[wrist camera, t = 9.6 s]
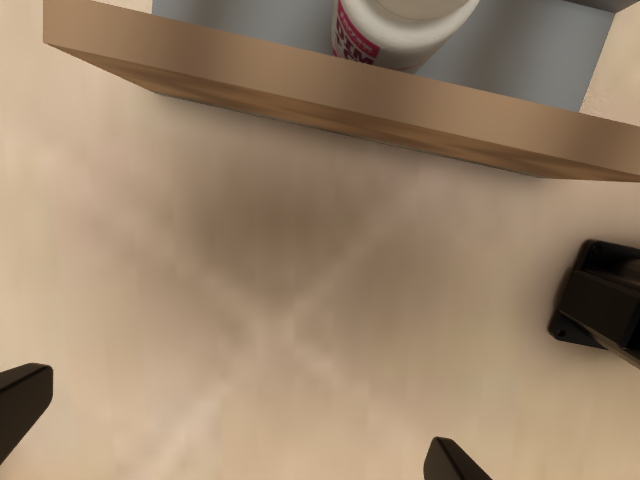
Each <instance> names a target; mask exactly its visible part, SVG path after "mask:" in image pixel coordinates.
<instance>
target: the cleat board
mask: <svg viewBox="0 0 640 480" xmlns="http://www.w3.org/2000/svg"><path fill="white" fill-rule="evenodd" d="M638 1H640V0H480V1H479V3H478V4H477V6H476V8H475V9H474V11H473V12H472V14H471V15H470V16H469V18H468V19H467V20H466V21H465V23H464V24H463V25H462V26H461V27H460V28H459V29H458V30H457V31H456V32H455V33H454V34H453V35H452V36H451V37H450V38H449V39H448V40H447V41H446V42H445V44H444V45H443V46H442V47H441V48H440V49H439V50H438V51H437V52H436V53H435V54H434V55H433V56H432V57H431V58H430V59H429V60H428V61H427V62H426V63H425V64H424V65H423V66H422V67H421V68H420V69H419V70H418V71H417V72H416V73H415V74H414V75H413V74H408V73H404V72H400V71H395V70H391V69H387V68H382V67H378V66H374V65H369V64H365V63H361V62H356V61H352V60H348V59H343V58H339V57H335V56H334V55H333V51H332V45H331V26H332V12H333V0H153V3H152V14H148V13H143V12H139V11H135V10H130V9H126V8H122V7H117V6H113V5H109V4H104V3H100V2H96V1H91V0H43V42H44V43H46V44H48V45H50V46H52V47H55V48H57V49H59V50H61V51H63V52H66V53H68V54H70V55H72V56H75V57H77V58H79V59H81V60H83V61H86V62H88V63H90V64H92V65H94V66H97V67H99V68H101V69H103V70H106V71H108V72H110V73H112V74H114V75H117V76H119V77H121V78H123V79H125V80H128V81H130V82H132V83H134V84H137V85H139V86H141V87H143V88H145V89H148V90H150V91H152V92H154V93H157V94H161V95H166V96H170V97H175V98H179V99H184V100H188V101H193V102H198V103H202V104H207V105H211V106H216V107H220V108H225V109H229V110H234V111H238V112H243V113H248V114H252V115H257V116H261V117H266V118H270V119H275V120H279V121H284V122H289V123H293V124H298V125H302V126H307V127H311V128H316V129H320V130H325V131H329V132H334V133H339V134H343V135H348V136H352V137H357V138H361V139H366V140H370V141H375V142H380V143H384V144H389V145H393V146H398V147H402V148H407V149H411V150H416V151H420V152H425V153H430V154H434V155H439V156H443V157H448V158H452V159H457V160H461V161H466V162H471V163H475V164H480V165H484V166H489V167H493V168H498V169H502V170H507V171H511V172H516V173H521V174H525V175H530V176H534V177H539V178H552V179H575V180H597V181H619V182H640V127H639V126H634V125H630V124H625V123H621V122H617V121H612V120H608V119H604V118H599V117H595V116H591V115H586V114H582V113H579V110H580V107H581V104H582V102H583V99H584V96H585V94H586V91H587V88H588V86H589V83H590V80H591V78H592V75H593V72H594V70H595V67H596V64H597V62H598V59H599V56H600V54H601V51H602V48H603V46H604V43H605V40H606V38H607V35H608V32H609V30H610V27H611V24H612V22H613V19H614V16H615V14H616V13H617V12H619V11H621V10H623V9H625V8H627V7H629V6H631V5H632V4H634V3H636V2H638Z"/></svg>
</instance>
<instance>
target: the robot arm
mask: <svg viewBox="0 0 640 480" xmlns="http://www.w3.org/2000/svg"><path fill="white" fill-rule="evenodd" d="M595 246H596V249H595V250H594V251H593V248H594V247H595ZM559 330H561V331H560V332H559V333H558V331H559ZM549 333H550V335H551V336H552V337H554V338H555V339H557V340H560V341H565V342H570V343H575V344H580V345H585V346H591V347H596V348H601V349H606V350H610V351H611V352H613V353H615V354H616V355H618V356H619V357H621V358H622V359H624V360H626V361H627V362H629V363H630V364H632V365H633V366H635V367H637V368H638V369H640V249H637V248H632V247H628V246H623V245H618V244H613V243H609V242H604V241H599V240H589V241H588V242H586V243H585V245H584V247H583V249H582V252H581V254H580V256H579V259H578V261H577V264H576V266H575V268H574V271H573V273H572V276H571V278H570V280H569V283H568V285H567V288H566V290H565V292H564V295H563V297H562V300H561V302H560V304H559V307H558V309H557V312H556V314H555V316H554V319H553V321H552V324H551V326H550V328H549ZM52 397H53V369H52V367H51V366H49V365H45V364H39V363H28V364H25V365H22V366H19V367H16V368H13V369H10V370H7V371H3V372H0V465H1V464H2V463H3V461H4V460H5V459H6V458H7V456H8V455H9V454H10V453H11V452H12V450H13V449H14V448H15V447H16V445H17V444H18V443H19V442H20V441H21V439H22V438H23V437H24V436H25V435H26V433H27V432H28V431H29V430H30V428H31V427H32V426H33V425H34V424H35V422H36V421H37V420H38V419H39V417H40V416H41V415H42V414H43V413H44V411H45V410H46V409H47V408H48V406H49V404H50V403H51V400H52ZM423 471H424V479H425V480H492V479H491V478H490V477H489V476H488V475H487V474H486V473H485V472H484V471H483V470H482V469H481V468H480V467H479V466H478V465H477V464H476V463H475V462H474V461H473V460H472V459H471V458H470V457H469V456H468V455H467V454H466V453H465V452H464V451H463V450H462V449H461V448H460V447H459V446H458V445H457V443H456V442H454V441H453V440H452V439H449V438H444V437H438V436H437V437H434V438H433V440H432V442H431V445H430V447H429V450H428V453H427V456H426V459H425V462H424V468H423Z"/></svg>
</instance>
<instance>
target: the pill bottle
mask: <svg viewBox="0 0 640 480" xmlns="http://www.w3.org/2000/svg"><path fill="white" fill-rule="evenodd" d="M479 1H480V0H333V12H332V26H331V45H332V51H333V55H334V56H335V57H339V58H343V59H348V60H352V61H356V62H361V63H365V64H369V65H374V66H378V67H382V68H387V69H391V70H395V71H400V72H404V73H408V74H413V75H414V74H415V73H416V72H417V71H418V70H419V69H420V68H421V67H422V66H423V65H424V64H425V63H426V62H427V61H428V60H429V59H430V58H431V57H432V56H433V55H434V54H435V53H436V52H437V51H438V50H439V49H440V48H441V47H442V46H443V45H444V44H445V42H446V41H447V40H448V39H449V38H450V37H451V36H452V35H453V34H454V33H455V32H456V31H457V30H458V29H459V28H460V27H461V26H462V25H463V24H464V23H465V21H466V20H467V19H468V18H469V16H470V15H471V14H472V12H473V11H474V9H475V8H476V6H477V4H478V3H479Z"/></svg>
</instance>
